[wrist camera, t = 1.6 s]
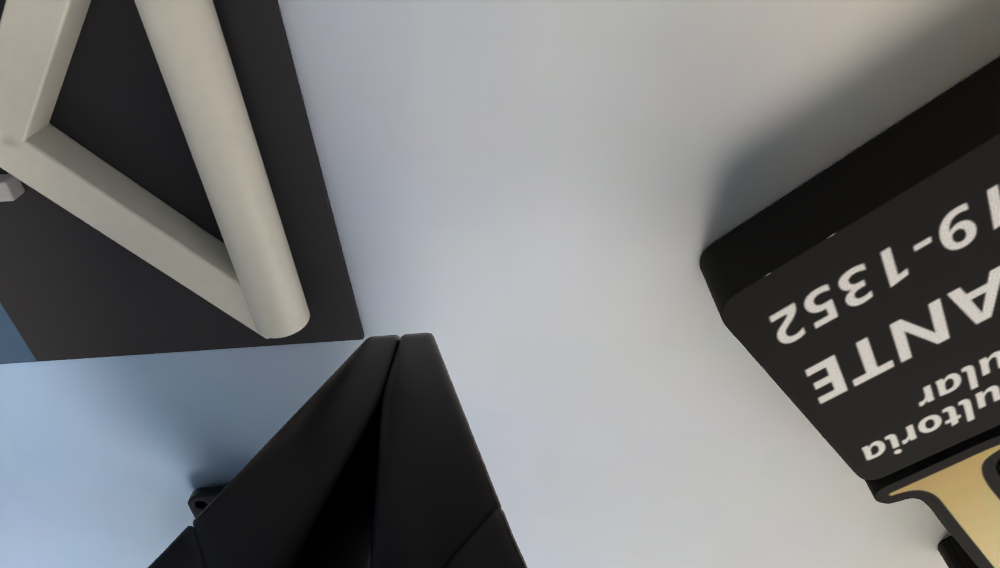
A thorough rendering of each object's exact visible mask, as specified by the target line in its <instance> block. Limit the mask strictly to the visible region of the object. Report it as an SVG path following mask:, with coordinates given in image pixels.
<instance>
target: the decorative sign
mask: <svg viewBox="0 0 1000 568" xmlns="http://www.w3.org/2000/svg"><path fill="white" fill-rule="evenodd" d="M700 269H701V271H702V273H703V276H704V278H705V280H706V283H707V285H708V288H709V290H710V292H711V295H712V297H713V299H714V302H715V304H716V306H717V309H718V311H719V313H720V316H721V318H722V321H723V322H724V324H725V325H726V327H727V328H728V329H729V330H730V331H731V333H732V334H733V335H734V336H735V337H736V338H737V339H738V340H739V341H740V342H741V343H742V345H743V346H744V347H745V348H746V349H747V350H748V351H749V353H750V354H751V355H752V356H753V357H754V358H755V359H756V361H757V362H758V363H759V364H760V365H761V366H762V367H763V369H764V370H765V371H766V372H767V373H768V374H769V375H770V377H771V378H772V379H773V380H774V381H775V382H776V383H777V385H778V386H779V387H780V388H781V389H782V390H783V391H784V393H785V394H786V395H787V396H788V397H789V398H790V399H791V401H792V402H793V403H794V404H795V405H796V406H797V407H798V408H799V410H800V411H801V412H802V413H803V414H804V415H805V416H806V418H807V419H808V420H809V421H810V422H811V423H812V424H813V426H814V427H815V428H816V429H817V430H818V431H819V432H820V434H821V435H822V436H823V437H824V438H825V439H826V440H827V442H828V443H829V444H830V445H831V446H832V447H833V448H834V450H835V451H836V452H837V453H838V454H839V455H840V456H841V458H842V459H843V460H844V461H845V462H846V463H847V464H848V466H849V467H850V468H851V469H852V470H853V471H854V472H855V473H856V474H857V475H858V476H859V477H860V478H862V479H865V481H866V483H867V485H868V487H869V489H870V491H871V492H872V494H873V496H874V498H875V500H876V501H878V502H881V503H886V504H889V503H894V502H898V501H901V500H905V499H909V498H917V499H920V500H922V501H923V502H925V503H926V504H927V505H928V506H929V507H930V508H931V509H932V511H933V512H934V513H935V515H936V516H937V518H938V519H939V520H940V522H941V523H942V524H943V526H944V527H945V528H946V529H947V530H948V532H949V533H950V534H951V535H952V537H950V538H949V539H946V540H944V541H942V542H941V543H940V544H939V547H938V550H939V552H940V554H941V555H942V557H943V559H944V561H945V562H946V564H947V566H948V567H949V568H1000V475H999V474H998V472H997V470H996V466H995V465H996V462H997V461H998V460H999V459H1000V58H998V59H996V60H995V61H993V62H992V63H990V64H989V65H987V66H986V67H984V68H983V69H981V70H980V71H978V72H976V73H975V74H973V75H972V76H970V77H969V78H967V79H966V80H964V81H963V82H961V83H959V84H958V85H956V86H955V87H953V88H952V89H950V90H949V91H947V92H946V93H944V94H943V95H941V96H939V97H938V98H936V99H935V100H933V101H932V102H930V103H929V104H927V105H926V106H924V107H922V108H921V109H919V110H918V111H916V112H915V113H913V114H912V115H910V116H909V117H907V118H906V119H904V120H902V121H901V122H899V123H898V124H896V125H895V126H893V127H892V128H890V129H889V130H887V131H885V132H884V133H882V134H881V135H879V136H878V137H876V138H875V139H873V140H872V141H870V142H868V143H867V144H865V145H864V146H862V147H861V148H859V149H858V150H856V151H855V152H853V153H852V154H850V155H848V156H847V157H845V158H844V159H842V160H841V161H839V162H838V163H836V164H835V165H833V166H831V167H830V168H828V169H827V170H825V171H824V172H822V173H821V174H819V175H818V176H816V177H815V178H813V179H811V180H810V181H808V182H807V183H805V184H804V185H802V186H801V187H799V188H798V189H796V190H794V191H793V192H791V193H790V194H788V195H787V196H785V197H784V198H782V199H781V200H779V201H778V202H776V203H774V204H773V205H771V206H770V207H768V208H767V209H765V210H764V211H762V212H761V213H759V214H757V215H756V216H754V217H753V218H751V219H750V220H748V221H747V222H745V223H744V224H742V225H740V226H739V227H737V228H736V229H734V230H733V231H731V232H730V233H728V234H727V235H725V236H724V237H722V238H720V239H719V240H717V241H716V242H715V243H713V244H712V245H711V246H709V247H708V248H707V249H706V250H705V252H704V253H703V255H702V257H701V260H700Z"/></svg>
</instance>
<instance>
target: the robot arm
mask: <svg viewBox="0 0 1000 568" xmlns="http://www.w3.org/2000/svg"><path fill="white" fill-rule="evenodd" d="M188 505H189V507H190V509H191V511H192V513H193V514H194V516H195V518H196V519H195V520H194V521H193V526H194V527H193V526H188V527H187V528H186V529H185V530H184V531H183V532H182V533H181V534H180V535H179V536H178V537H177V538H176V539H175V540H174V541H173V542H172V543H171V544H170V545H169V546H168V548H167V549H166V550H165V551H164V552H163V553H162V554H161V555H160V556H159V557H158V558H157V559H156V560H155V561H154V562H153V563H152V564H151V565H150V566H149V567H148V568H527V566H526V563H525V561H524V559H523V557H522V554H521V552H520V550H519V548H518V545H517V543H516V541H515V539H514V537H513V534H512V532H511V529H510V526H509V524H508V521H507V519H506V516H505V514H504V512H503V510H501V505H500V502H499V500H498V497H497V495H496V492H495V490H494V487H493V485H492V482H491V480H490V477H489V474H488V472H487V469H486V467H485V464H484V462H483V459H482V457H481V454H480V452H479V449H478V447H477V444H476V442H475V439H474V437H473V434H472V432H471V429H470V427H469V424H468V422H467V419H466V417H465V414H464V412H463V409H462V407H461V404H460V402H459V399H458V397H457V394H456V392H455V389H454V387H453V384H452V381H451V379H450V376H449V374H448V371H447V369H446V366H445V364H444V361H443V359H442V356H441V354H440V351H439V349H438V346H437V344H436V341H435V339H434V336H433V335H432V334H430V333H417V334H405V335H403V336H402V337H401V338H400V337H399V336H397V335H387V336H373V337H370V338H368V339H366V340H365V341H364V342H363V343H362V344H361V345H360V347H359V348H358V349H357V350H356V351H355V352H354V353H353V354H352V355H351V356H350V357H349V358H348V359H347V360H346V361H345V362H344V363H343V364H342V365H341V366H340V367H339V369H338V370H337V371H336V372H335V373H334V374H333V375H332V376H331V377H330V378H329V379H328V380H327V381H326V382H325V383H324V384H323V385H322V386H321V387H320V388H319V390H318V391H317V392H316V393H315V394H314V395H313V396H312V397H311V398H310V399H309V400H308V401H307V402H306V403H305V404H304V405H303V406H302V407H301V408H300V409H299V410H298V412H297V413H296V414H295V415H294V416H293V417H292V418H291V419H290V420H289V421H288V422H287V423H286V424H285V425H284V426H283V427H282V428H281V429H280V430H279V431H278V433H277V434H276V435H275V436H274V437H273V438H272V439H271V440H270V441H269V442H268V443H267V444H266V445H265V446H264V447H263V448H262V449H261V450H260V451H259V452H258V454H257V455H256V456H255V457H254V458H253V459H252V460H251V461H250V462H249V463H248V464H247V465H246V466H245V467H244V468H243V469H242V470H241V471H240V472H239V473H238V474H237V476H236V477H235V478H234V479H233V480H232V481H231V482H230V483H229V484H228V485H227V486H226V487H210V488H198V489H195V490H194V491H193V492H192V494H191V497H190V499H189V501H188Z"/></svg>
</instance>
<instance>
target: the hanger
mask: <svg viewBox="0 0 1000 568" xmlns="http://www.w3.org/2000/svg"><path fill="white" fill-rule="evenodd" d="M134 1H135V4H136V6H137V9H138V12H139V14H140V17H141V20H142V22H143V25H144V28H145V30H146V33H147V36H148V38H149V41H150V44H151V47H152V49H153V52H154V55H155V57H156V60H157V63H158V65H159V68H160V71H161V73H162V76H163V79H164V81H165V84H166V87H167V89H168V92H169V95H170V98H171V100H172V103H173V106H174V108H175V111H176V114H177V116H178V119H179V122H180V124H181V127H182V130H183V132H184V135H185V138H186V141H187V143H188V146H189V149H190V151H191V154H192V157H193V159H194V162H195V165H196V167H197V170H198V173H199V175H200V178H201V181H202V184H203V186H204V189H205V192H206V194H207V197H208V200H209V202H210V205H211V208H212V210H213V213H214V216H215V218H216V221H217V224H218V227H219V229H220V232H221V235H222V237H223V240H224V243H225V244H224V243H222V242H221V241H220V240H218V239H217V238H215V237H214V236H212V235H211V234H209V233H208V232H207V231H205V230H204V229H202V228H201V227H199V226H198V225H196V224H195V223H193V222H192V221H191V220H189V219H188V218H186V217H185V216H183V215H182V214H180V213H179V212H178V211H176V210H175V209H173V208H172V207H170V206H169V205H167V204H166V203H164V202H163V201H162V200H160V199H159V198H157V197H156V196H154V195H153V194H151V193H150V192H149V191H147V190H146V189H144V188H143V187H141V186H140V185H138V184H137V183H135V182H134V181H133V180H131V179H130V178H128V177H127V176H125V175H124V174H122V173H121V172H120V171H118V170H117V169H115V168H114V167H112V166H111V165H109V164H108V163H106V162H105V161H104V160H102V159H101V158H99V157H98V156H96V155H95V154H93V153H92V152H91V151H89V150H88V149H86V148H85V147H83V146H82V145H80V144H79V143H77V142H76V141H75V140H73V139H72V138H70V137H69V136H67V135H66V134H64V133H63V132H62V131H60V130H59V129H57V128H56V127H54V126H53V125H51V124H50V123H49V122H50V119H51V116H52V113H53V110H54V107H55V104H56V101H57V98H58V95H59V93H60V90H61V87H62V84H63V81H64V78H65V75H66V72H67V69H68V66H69V64H70V61H71V58H72V55H73V52H74V49H75V46H76V43H77V40H78V37H79V34H80V32H81V29H82V26H83V23H84V20H85V17H86V14H87V11H88V8H89V5H90V2H91V0H6V3H5V6H4V10H3V14H2V17H1V21H0V168H2V169H4V170H5V171H7V172H8V173H10V174H0V202H4V201H14V200H15V199H17V198H18V197H19V196H20V195H22V194H23V193H24V192H25V189H24V187H23V186H22V184H21V182H20V180H21V181H22V182H24V183H25V184H27V185H28V186H30V187H31V188H33V189H35V190H36V191H38V192H39V193H41V194H42V195H44V196H45V197H47V198H49V199H50V200H52V201H53V202H55V203H56V204H58V205H59V206H61V207H63V208H64V209H66V210H67V211H69V212H70V213H72V214H73V215H75V216H76V217H78V218H80V219H81V220H83V221H84V222H86V223H87V224H89V225H90V226H92V227H94V228H95V229H97V230H98V231H100V232H101V233H103V234H104V235H106V236H108V237H109V238H111V239H112V240H114V241H115V242H117V243H118V244H120V245H121V246H123V247H125V248H126V249H128V250H129V251H131V252H132V253H134V254H135V255H137V256H139V257H140V258H142V259H143V260H145V261H146V262H148V263H149V264H151V265H153V266H154V267H156V268H157V269H159V270H160V271H162V272H163V273H165V274H166V275H168V276H170V277H171V278H173V279H174V280H176V281H177V282H179V283H180V284H182V285H184V286H185V287H187V288H188V289H190V290H191V291H193V292H194V293H196V294H198V295H199V296H201V297H202V298H204V299H205V300H207V301H208V302H210V303H211V304H213V305H215V306H216V307H218V308H219V309H221V310H222V311H224V312H225V313H227V314H229V315H230V316H232V317H233V318H235V319H236V320H238V321H239V322H241V323H243V324H244V325H246V326H247V327H249V328H250V329H252V330H253V331H255V332H256V333H258V334H260V335H261V336H263V337H264V338H266V339H269V338H282V337H287V336H290V335H292V334H294V333H296V332H298V331H300V330H301V329H302V328H303V327H305V325H306V324H307V323H308V321H309V318H310V312H309V309H308V306H307V303H306V299H305V296H304V293H303V290H302V287H301V283H300V280H299V277H298V274H297V270H296V267H295V264H294V261H293V258H292V254H291V251H290V248H289V245H288V241H287V238H286V235H285V232H284V229H283V225H282V222H281V219H280V216H279V213H278V209H277V206H276V203H275V200H274V196H273V193H272V190H271V187H270V184H269V180H268V177H267V174H266V171H265V167H264V164H263V161H262V158H261V155H260V151H259V148H258V145H257V142H256V139H255V135H254V132H253V129H252V126H251V122H250V119H249V116H248V113H247V110H246V106H245V103H244V100H243V97H242V93H241V90H240V87H239V84H238V81H237V77H236V74H235V71H234V68H233V64H232V61H231V58H230V55H229V52H228V48H227V45H226V42H225V39H224V36H223V32H222V29H221V26H220V23H219V19H218V16H217V13H216V10H215V7H214V3H213V0H134Z"/></svg>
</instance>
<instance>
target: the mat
mask: <svg viewBox="0 0 1000 568" xmlns="http://www.w3.org/2000/svg"><path fill="white" fill-rule="evenodd" d="M5 3H6V0H0V21H1V17H2V14H3V10H4V6H5ZM213 3H214V7H215V10H216V13H217V16H218V19H219V23H220V26H221V29H222V32H223V36H224V39H225V42H226V45H227V48H228V52H229V55H230V58H231V61H232V64H233V68H234V71H235V74H236V77H237V81H238V84H239V87H240V90H241V93H242V97H243V100H244V103H245V106H246V110H247V113H248V116H249V119H250V122H251V126H252V129H253V132H254V135H255V139H256V142H257V145H258V148H259V151H260V155H261V158H262V161H263V164H264V167H265V171H266V174H267V177H268V180H269V184H270V187H271V190H272V193H273V196H274V200H275V203H276V206H277V209H278V213H279V216H280V219H281V222H282V225H283V229H284V232H285V235H286V238H287V241H288V245H289V248H290V251H291V254H292V258H293V261H294V264H295V267H296V270H297V274H298V277H299V280H300V283H301V287H302V290H303V293H304V296H305V299H306V303H307V306H308V309H309V312H310V318H309V321H308V323H307V324H306V325H305V327H303V328H302V329H301V330H300V331H298V332H296V333H294V334H292V335H290V336H287V337H282V338H269V339H266V338H264V337H263V336H261V335H260V334H258V333H256V332H255V331H253V330H252V329H250V328H249V327H247V326H246V325H244V324H243V323H241V322H239V321H238V320H236V319H235V318H233V317H232V316H230V315H229V314H227V313H225V312H224V311H222V310H221V309H219V308H218V307H216V306H215V305H213V304H211V303H210V302H208V301H207V300H205V299H204V298H202V297H201V296H199V295H198V294H196V293H194V292H193V291H191V290H190V289H188V288H187V287H185V286H184V285H182V284H180V283H179V282H177V281H176V280H174V279H173V278H171V277H170V276H168V275H166V274H165V273H163V272H162V271H160V270H159V269H157V268H156V267H154V266H153V265H151V264H149V263H148V262H146V261H145V260H143V259H142V258H140V257H139V256H137V255H135V254H134V253H132V252H131V251H129V250H128V249H126V248H125V247H123V246H121V245H120V244H118V243H117V242H115V241H114V240H112V239H111V238H109V237H108V236H106V235H104V234H103V233H101V232H100V231H98V230H97V229H95V228H94V227H92V226H90V225H89V224H87V223H86V222H84V221H83V220H81V219H80V218H78V217H76V216H75V215H73V214H72V213H70V212H69V211H67V210H66V209H64V208H63V207H61V206H59V205H58V204H56V203H55V202H53V201H52V200H50V199H49V198H47V197H45V196H44V195H42V194H41V193H39V192H38V191H36V190H35V189H33V188H31V187H30V186H28V185H27V184H25V183H24V182H22V181H21V180H20V182H21V184H22V186H23V187H24V189H25V192H24V193H23V194H22V195H20V196H19V197H18V198H17V199H15V200H14V201H4V202H0V364H8V363H22V362H37V361H52V360H66V359H81V358H96V357H110V356H125V355H140V354H154V353H169V352H184V351H198V350H213V349H228V348H242V347H257V346H272V345H286V344H301V343H316V342H330V341H345V340H360V339H363V338H364V333H363V329H362V325H361V322H360V318H359V314H358V310H357V306H356V302H355V299H354V295H353V291H352V287H351V283H350V279H349V275H348V272H347V268H346V264H345V260H344V256H343V252H342V249H341V245H340V241H339V237H338V233H337V229H336V226H335V222H334V218H333V214H332V210H331V206H330V202H329V199H328V195H327V191H326V187H325V183H324V179H323V176H322V172H321V168H320V164H319V160H318V156H317V153H316V149H315V145H314V141H313V137H312V133H311V129H310V126H309V122H308V118H307V114H306V110H305V106H304V103H303V99H302V95H301V91H300V87H299V83H298V80H297V76H296V72H295V68H294V64H293V60H292V56H291V53H290V49H289V45H288V41H287V37H286V33H285V30H284V26H283V22H282V18H281V14H280V10H279V6H278V3H277V0H213ZM49 123H50V124H51V125H53V126H54V127H56V128H57V129H59V130H60V131H62V132H63V133H64V134H66V135H67V136H69V137H70V138H72V139H73V140H75V141H76V142H77V143H79V144H80V145H82V146H83V147H85V148H86V149H88V150H89V151H91V152H92V153H93V154H95V155H96V156H98V157H99V158H101V159H102V160H104V161H105V162H106V163H108V164H109V165H111V166H112V167H114V168H115V169H117V170H118V171H120V172H121V173H122V174H124V175H125V176H127V177H128V178H130V179H131V180H133V181H134V182H135V183H137V184H138V185H140V186H141V187H143V188H144V189H146V190H147V191H149V192H150V193H151V194H153V195H154V196H156V197H157V198H159V199H160V200H162V201H163V202H164V203H166V204H167V205H169V206H170V207H172V208H173V209H175V210H176V211H178V212H179V213H180V214H182V215H183V216H185V217H186V218H188V219H189V220H191V221H192V222H193V223H195V224H196V225H198V226H199V227H201V228H202V229H204V230H205V231H207V232H208V233H209V234H211V235H212V236H214V237H215V238H217V239H218V240H220V241H221V242H222V243H224V240H223V237H222V235H221V232H220V229H219V227H218V224H217V221H216V218H215V216H214V213H213V210H212V208H211V205H210V202H209V200H208V197H207V194H206V192H205V189H204V186H203V184H202V181H201V178H200V175H199V173H198V170H197V167H196V165H195V162H194V159H193V157H192V154H191V151H190V149H189V146H188V143H187V141H186V138H185V135H184V132H183V130H182V127H181V124H180V122H179V119H178V116H177V114H176V111H175V108H174V106H173V103H172V100H171V98H170V95H169V92H168V89H167V87H166V84H165V81H164V79H163V76H162V73H161V71H160V68H159V65H158V63H157V60H156V57H155V55H154V52H153V49H152V47H151V44H150V41H149V38H148V36H147V33H146V30H145V28H144V25H143V22H142V20H141V17H140V14H139V12H138V9H137V6H136V4H135V1H134V0H91V2H90V5H89V8H88V11H87V14H86V17H85V20H84V23H83V26H82V29H81V32H80V34H79V37H78V40H77V43H76V46H75V49H74V52H73V55H72V58H71V61H70V64H69V66H68V69H67V72H66V75H65V78H64V81H63V84H62V87H61V90H60V93H59V95H58V98H57V101H56V104H55V107H54V110H53V113H52V116H51V119H50V122H49ZM0 174H10V173H8V172H7V171H5V170H4V169H2V168H0ZM224 244H225V243H224Z"/></svg>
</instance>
